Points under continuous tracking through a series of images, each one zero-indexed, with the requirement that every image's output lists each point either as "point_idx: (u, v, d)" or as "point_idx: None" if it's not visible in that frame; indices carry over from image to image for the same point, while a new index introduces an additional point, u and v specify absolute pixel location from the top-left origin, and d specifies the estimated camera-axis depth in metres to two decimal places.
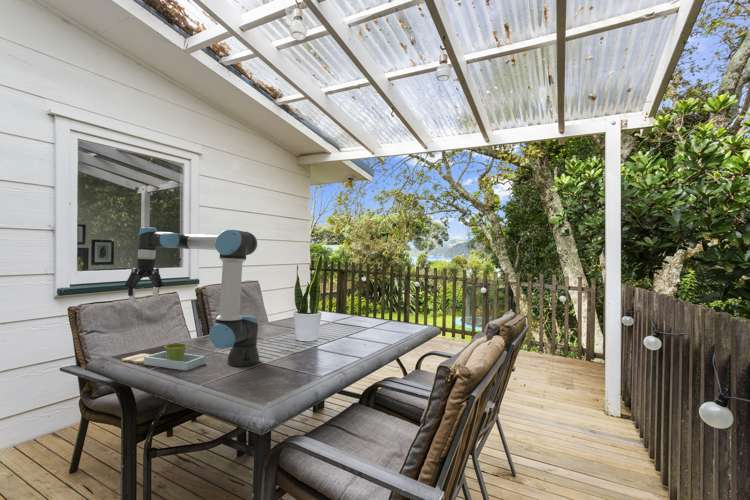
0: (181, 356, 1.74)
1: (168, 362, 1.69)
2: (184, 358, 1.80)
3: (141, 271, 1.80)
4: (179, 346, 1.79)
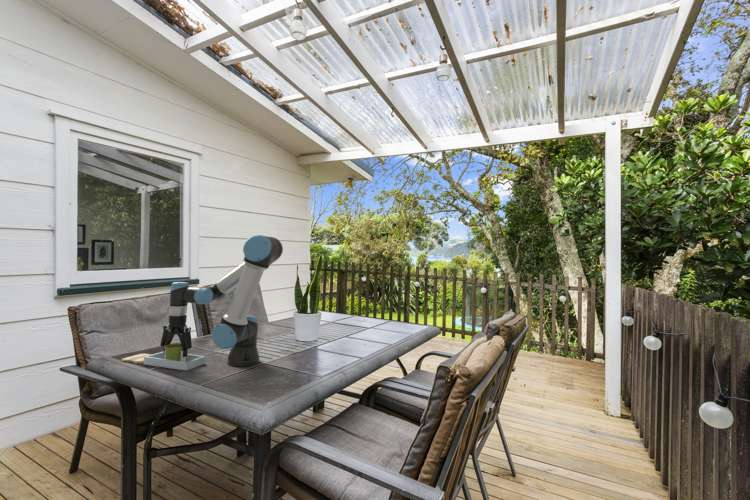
0: None
1: (168, 362, 1.69)
2: None
3: (169, 327, 1.75)
4: (179, 346, 1.79)
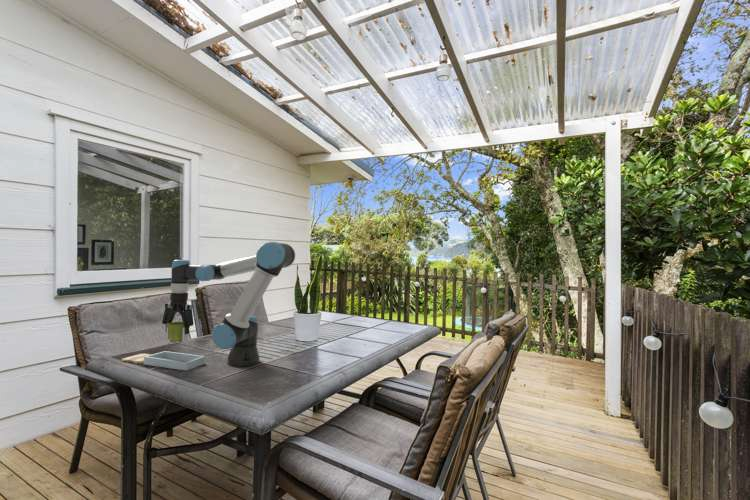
0: None
1: (168, 362, 1.69)
2: (184, 358, 1.80)
3: (171, 305, 1.76)
4: (181, 324, 1.80)
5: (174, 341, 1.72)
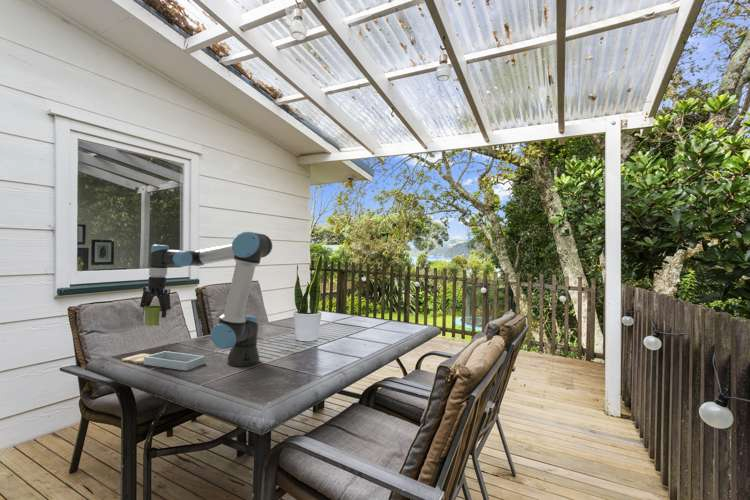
0: None
1: (168, 362, 1.69)
2: (184, 358, 1.80)
3: (149, 289, 1.79)
4: (159, 308, 1.83)
5: (151, 324, 1.76)
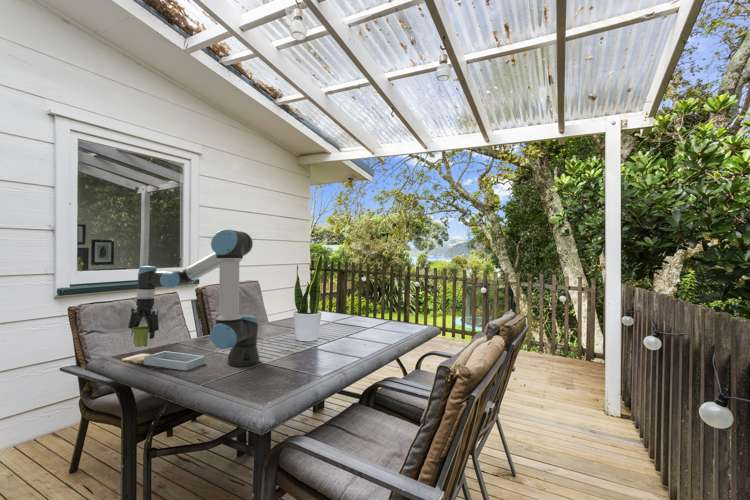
0: None
1: (168, 362, 1.69)
2: (184, 358, 1.80)
3: (137, 310, 1.80)
4: (147, 328, 1.84)
5: (139, 345, 1.77)
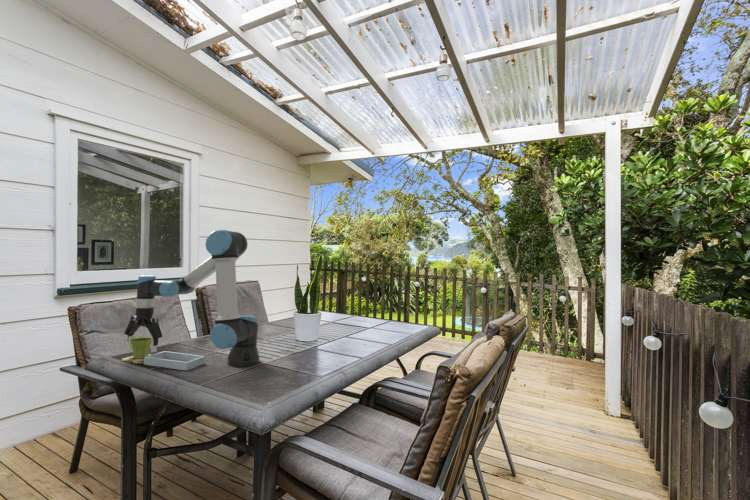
0: (146, 349, 1.79)
1: (168, 362, 1.69)
2: (184, 358, 1.80)
3: (136, 319, 1.80)
4: (145, 340, 1.84)
5: (137, 357, 1.77)
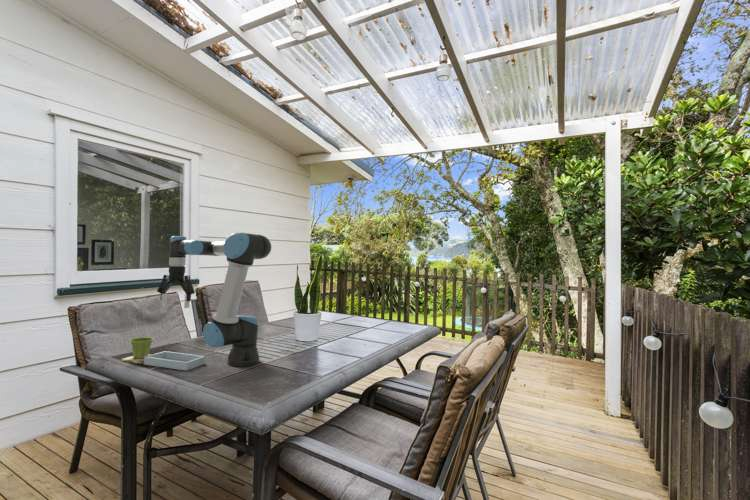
0: (147, 349, 1.79)
1: (168, 362, 1.69)
2: (184, 358, 1.80)
3: (169, 277, 1.91)
4: (145, 340, 1.84)
5: (137, 357, 1.77)
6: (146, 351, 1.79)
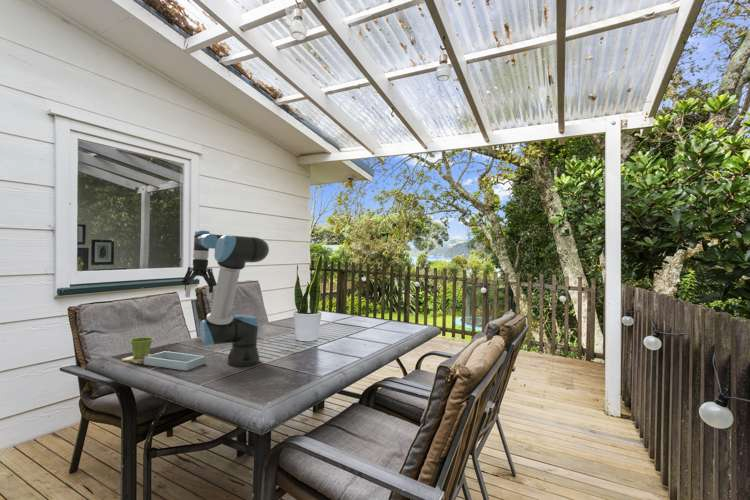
0: (147, 349, 1.79)
1: (168, 362, 1.69)
2: (184, 358, 1.80)
3: (193, 270, 2.00)
4: (145, 340, 1.84)
5: (137, 357, 1.77)
6: (146, 351, 1.79)
